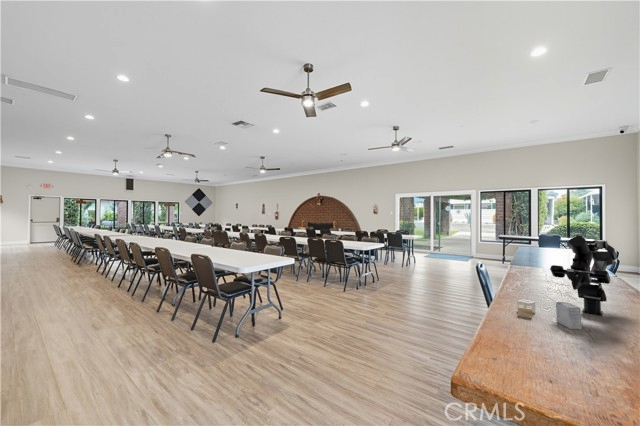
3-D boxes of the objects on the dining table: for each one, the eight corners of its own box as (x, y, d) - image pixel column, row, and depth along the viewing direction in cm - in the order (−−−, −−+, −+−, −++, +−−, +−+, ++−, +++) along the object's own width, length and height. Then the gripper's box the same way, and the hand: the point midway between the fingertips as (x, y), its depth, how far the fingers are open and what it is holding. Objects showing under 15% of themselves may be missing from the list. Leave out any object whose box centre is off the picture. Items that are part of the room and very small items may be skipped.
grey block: (523, 309, 135) (523, 299, 135) (535, 312, 130) (535, 301, 130) (517, 311, 132) (517, 300, 133) (529, 314, 128) (529, 303, 128)
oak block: (519, 313, 129) (518, 304, 130) (532, 315, 126) (532, 306, 126) (518, 316, 126) (517, 307, 126) (532, 318, 122) (531, 309, 123)
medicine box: (582, 330, 109) (581, 307, 109) (568, 329, 110) (568, 307, 110) (568, 322, 117) (567, 302, 117) (556, 322, 118) (555, 301, 118)
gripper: (615, 276, 120) (609, 306, 113) (560, 269, 135) (552, 295, 129) (610, 259, 116) (603, 289, 109) (554, 254, 131) (545, 280, 125)
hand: (574, 289), depth 118 cm, fingers closed
